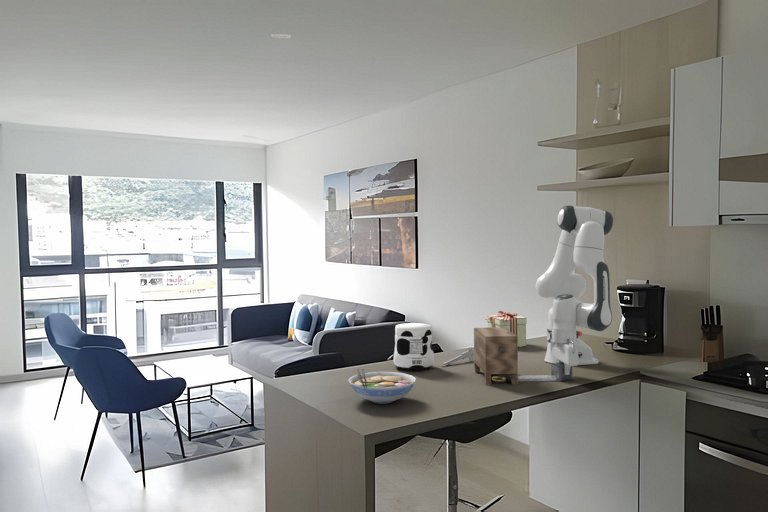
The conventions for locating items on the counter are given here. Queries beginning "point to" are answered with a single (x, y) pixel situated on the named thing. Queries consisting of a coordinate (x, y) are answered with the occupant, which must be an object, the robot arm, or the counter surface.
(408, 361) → the milk container
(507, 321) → the gift box
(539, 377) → the scraper
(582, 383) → the counter surface
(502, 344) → the cabinet
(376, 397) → the ramen bowl
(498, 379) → the token
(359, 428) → the counter surface
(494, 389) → the counter surface
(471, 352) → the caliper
